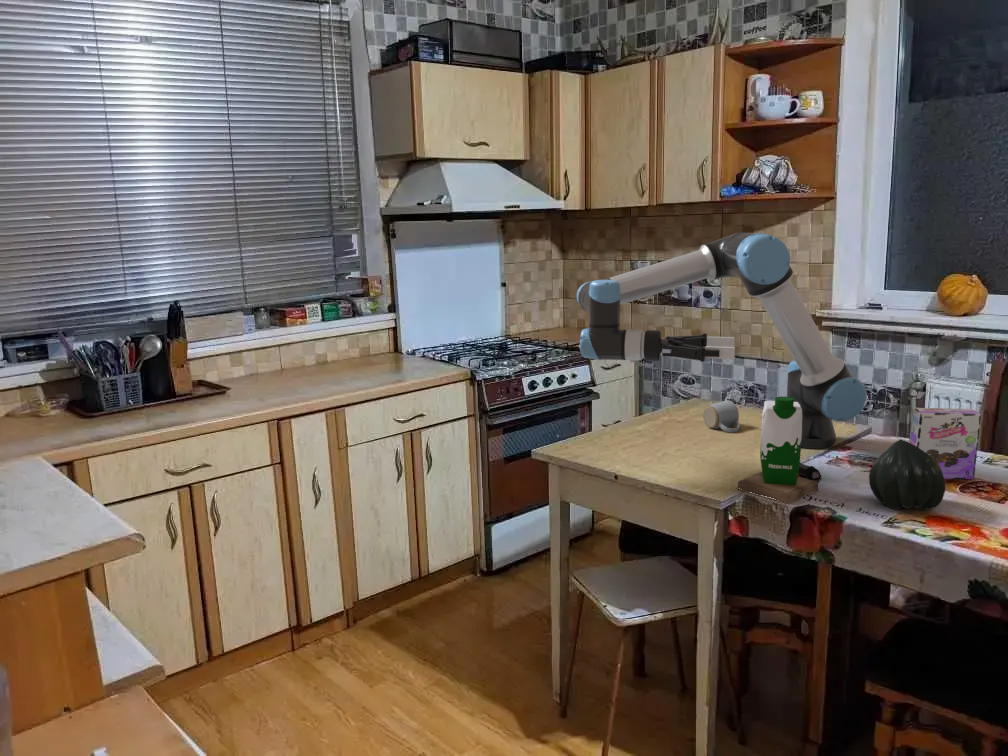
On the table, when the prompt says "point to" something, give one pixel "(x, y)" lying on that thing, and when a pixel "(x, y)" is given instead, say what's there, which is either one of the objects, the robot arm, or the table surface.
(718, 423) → the ceramic mug
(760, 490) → the board
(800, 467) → the electric trimmer
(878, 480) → the squash
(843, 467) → the table surface
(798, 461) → the milk carton
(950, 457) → the candy box
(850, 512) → the table surface
